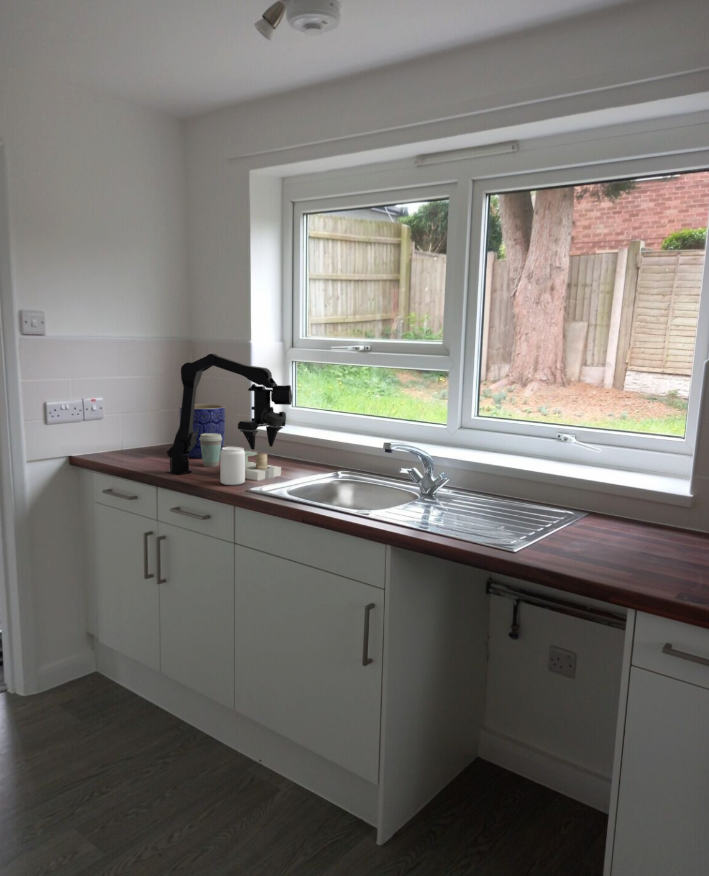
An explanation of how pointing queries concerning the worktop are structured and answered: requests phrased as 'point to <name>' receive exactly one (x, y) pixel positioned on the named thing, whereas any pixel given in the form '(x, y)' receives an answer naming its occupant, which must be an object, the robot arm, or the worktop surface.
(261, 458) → the peg
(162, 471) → the worktop surface
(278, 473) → the socket
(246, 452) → the mint green folder
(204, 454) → the coffee cup
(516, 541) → the worktop surface
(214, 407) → the planter
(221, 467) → the beverage can
